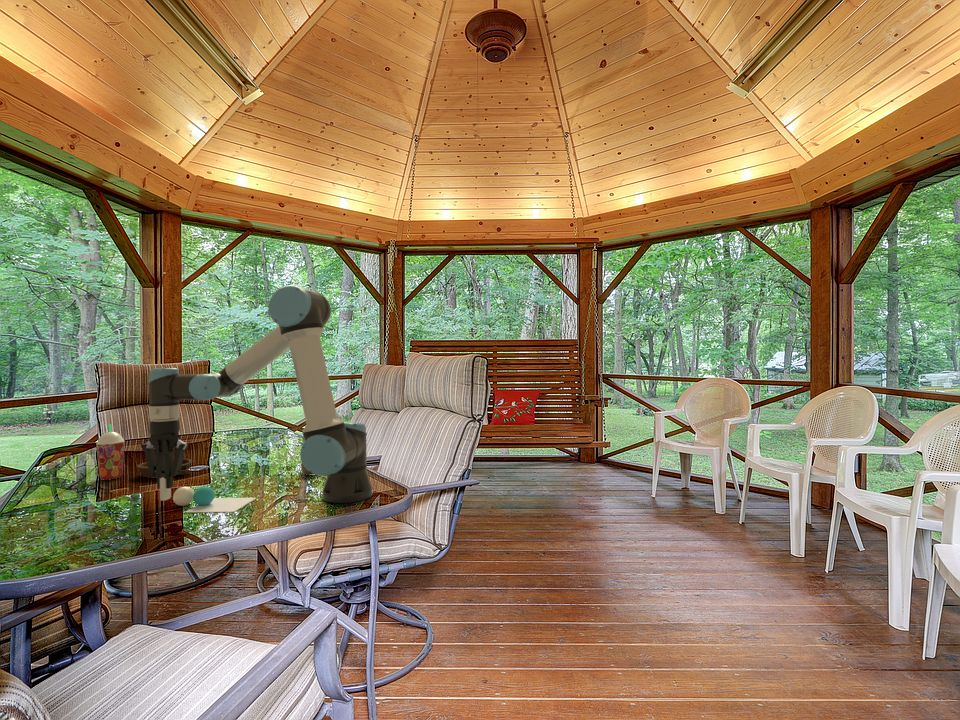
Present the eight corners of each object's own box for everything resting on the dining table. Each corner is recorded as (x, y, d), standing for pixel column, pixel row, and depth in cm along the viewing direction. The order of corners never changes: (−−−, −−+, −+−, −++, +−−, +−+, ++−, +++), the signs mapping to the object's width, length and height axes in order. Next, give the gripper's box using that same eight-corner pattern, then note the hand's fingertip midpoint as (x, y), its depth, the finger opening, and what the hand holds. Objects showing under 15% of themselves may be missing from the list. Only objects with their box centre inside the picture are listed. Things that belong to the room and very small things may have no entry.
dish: (162, 483, 174) (162, 469, 174) (121, 478, 182) (121, 465, 182) (206, 472, 190) (206, 459, 190) (167, 468, 199) (167, 456, 199)
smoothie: (124, 475, 186) (123, 422, 186) (126, 479, 180) (125, 424, 180) (96, 478, 181) (95, 424, 181) (97, 483, 174) (96, 426, 174)
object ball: (216, 504, 149) (219, 486, 149) (206, 509, 143) (209, 490, 143) (198, 500, 149) (201, 482, 149) (187, 506, 143) (191, 487, 143)
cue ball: (176, 492, 149) (187, 506, 149) (165, 497, 143) (176, 511, 143) (191, 480, 149) (202, 495, 149) (180, 485, 143) (191, 500, 143)
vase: (297, 476, 182) (297, 452, 181) (308, 472, 188) (307, 449, 188) (313, 477, 180) (313, 453, 180) (324, 473, 187) (324, 449, 187)
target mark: (257, 498, 153) (257, 497, 153) (234, 512, 139) (234, 511, 139) (212, 498, 153) (212, 497, 153) (184, 512, 139) (184, 511, 139)
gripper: (133, 421, 142) (134, 503, 142) (178, 421, 142) (179, 502, 142) (151, 418, 150) (152, 495, 150) (193, 418, 150) (194, 495, 150)
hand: (165, 499), depth 146 cm, fingers closed
